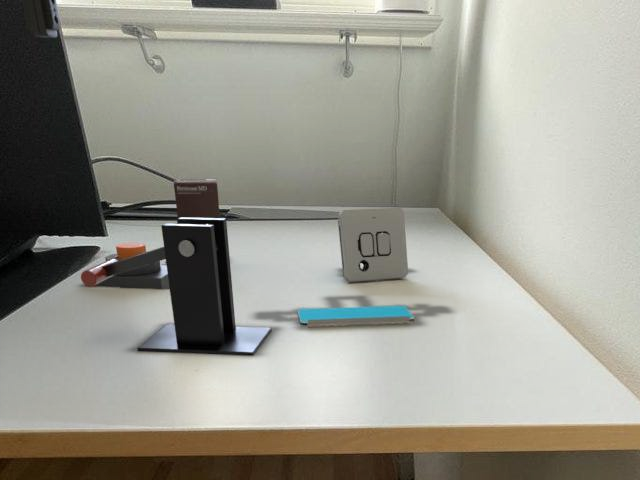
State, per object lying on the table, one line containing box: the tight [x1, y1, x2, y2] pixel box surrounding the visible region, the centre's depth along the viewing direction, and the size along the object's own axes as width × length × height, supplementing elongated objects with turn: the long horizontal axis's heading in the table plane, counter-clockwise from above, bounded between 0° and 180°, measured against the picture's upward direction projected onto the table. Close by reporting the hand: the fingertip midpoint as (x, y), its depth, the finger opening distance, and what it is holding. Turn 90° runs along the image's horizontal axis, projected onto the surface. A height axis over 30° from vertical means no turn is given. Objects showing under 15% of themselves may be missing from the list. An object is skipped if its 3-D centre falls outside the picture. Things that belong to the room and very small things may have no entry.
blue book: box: [297, 305, 415, 328], centre depth 74 cm, size 20×12×2 cm, turn 99°
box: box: [173, 178, 221, 219], centre depth 95 cm, size 6×4×12 cm
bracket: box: [136, 217, 273, 357], centre depth 62 cm, size 11×8×12 cm
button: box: [115, 242, 147, 259], centre depth 85 cm, size 4×4×2 cm
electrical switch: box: [337, 207, 409, 283], centre depth 92 cm, size 9×5×9 cm, turn 110°
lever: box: [80, 223, 219, 288], centre depth 61 cm, size 12×6×2 cm, turn 84°
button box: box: [93, 252, 170, 290], centre depth 86 cm, size 10×8×4 cm
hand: (45, 36), depth 67 cm, fingers closed
